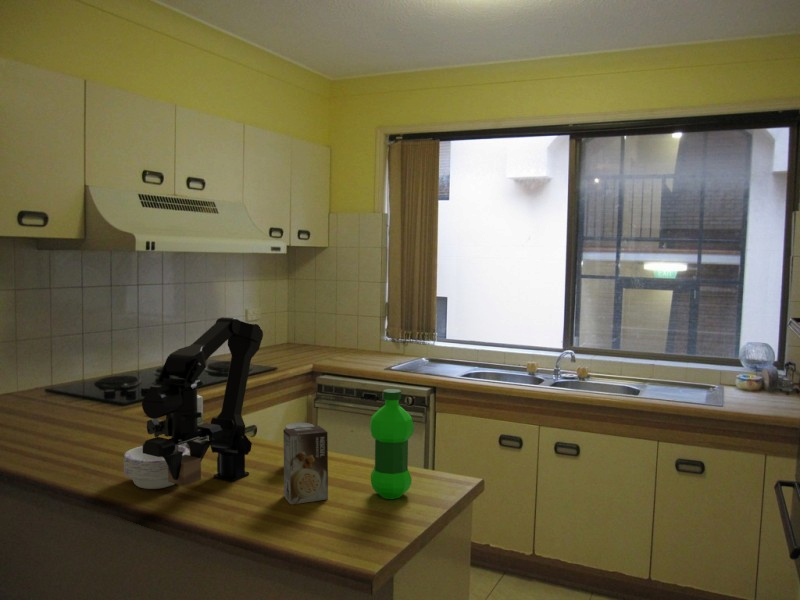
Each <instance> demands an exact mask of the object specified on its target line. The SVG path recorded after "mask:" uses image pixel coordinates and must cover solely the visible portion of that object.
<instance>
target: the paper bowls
mask: <svg viewBox="0 0 800 600" xmlns="http://www.w3.org/2000/svg"><path fill="white" fill-rule="evenodd" d="M178 451H181V452H183V454H182V455H189V456H190V448H189V447H187V448H186V447H184V446H180V445H178ZM123 475H124V476H125V477H127V478H129V479H131V480H132V482H133V483H134V485H135V486H137V487H138V488H142V489H145V490H157V489H164V488H168V487H172V486H174V485H175V484H174V483H170V482H168V465H167V463H166V461H165V459H164V458H163V457H157V456H152V455H148V454H144V453H143V445H142V446H136V447H134V448H131V449H129V450H127V451H126V452H125V453H124V455H123Z"/></svg>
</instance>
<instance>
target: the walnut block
mask: <svg viewBox="0 0 800 600" xmlns="http://www.w3.org/2000/svg"><path fill="white" fill-rule="evenodd" d="M201 480H202V461H201V458H198V457H194V456H189V455H182V460H181V466H180V473H179V477H178V480H174V479H173V477H172V475H171V472H170V470H169V467H168V482H170V483H174V485H177V486H183V487H185V486H188V485H191V484H194V483H195V482H198V481H201Z"/></svg>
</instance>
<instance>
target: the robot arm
mask: <svg viewBox="0 0 800 600" xmlns="http://www.w3.org/2000/svg"><path fill="white" fill-rule="evenodd" d="M263 338H264V331H263V329H261V327H260V325H259V324H257V323H248V322H245V321H242V320H240V319H238V318H236V317H224V316H223V317H221V316H220V318H217V320H216V321H215V323H214V324H213V325H212V326H211V327H210V328H208V329H207V330H206V331H205V332H203V334H202V335H200V337H198V338H197V339H196V340H194V342H192V344H190V345H188V346H185V347H182V348H178V349H177V350H175V351H173V352H171V353H170V354H169V355H168V356H167V358H166V359H165V363H164V364H163V365H162V366H163V367H162V369H161V371H160V374H159V375H158V378H157V380H156V382H155V384H156V385H152V386H150V387H149V392H147V393H146V394H145V395H144V397H143V400H142V402H141V406H142V410H143V413H144V414H145V416H146V417H148V418H149V420H147V421H146V431H147V434H148V435H153V436H154V437H153V438H149V439H146V440H145V441H144V442H143V444H142V446H143V453H144V454H148V455H152V456H157V457H163V458H164V459H165V461H166V463H167V465H168V467H169V470H170V472H171V475H172V477H173V479H174V480H178V477H179V473H180V466H181V460H182V454H183V452H181V451H178V445H180V444H184V443H187V444H188V446H189V447H188V449H189V451H190V456H194V457H198V458H201V462H202V461H203V459H204V457H205V456H206V453H207V451H208V450H209V448H210V450H211V453H215V454H216V453H217V456H216V458H217V460H216V464H217V467H216V473H214V474H213V478H216V479H220V480H224V481H229V482H234V481H236V480H239V479H241V478H243V477H246V476H249V475H250V472H249V471H246V456H248V455H250V454H249V453H250V452H251V451H252V445H253V443H252V441H251V440H250V439H249V437H248V436H247V435H246V424H245V421H244V418H243V415H242V411H243V406H244V401H245V396H246V395H245V394H246V388H247V384H248V377H249V371H250V367H251V361H252V358H253V357H254V356H255V355H256V354H257V352H258V351H259V350H260V347H261V344H262V340H263ZM226 342H227V347H228V350H229V353H230V354H231V357H230V362H229V363H230V364H229V368H228V373H227V380H226V385H225V390H224V395H223V401H222V404H221V405H222V407H221V411H220V413H219V414H218V415H217V416H216V417H212V418H211V420H210V422H209V423H208V422H203V424H201V425H198V424H197V418H199V417H201V412H197V395H198V388H199V387H201V386H203V385H204V382H203V381H202V380H201V379H199V377H200V376H201V374H202V373H203V372H204V371H205V369H206V367H207V360H208V359H209V358H210V357H211V356H212V355H213V354H214V353H215V352H217V350H218V349H219V348H221V347H222V346H223V344H225V343H226ZM162 417H166V418H165V419H164V420H161V421H160V420H159V419H160V418H162ZM162 435H164V437H161V436H162ZM165 437H171V438H165Z"/></svg>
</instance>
